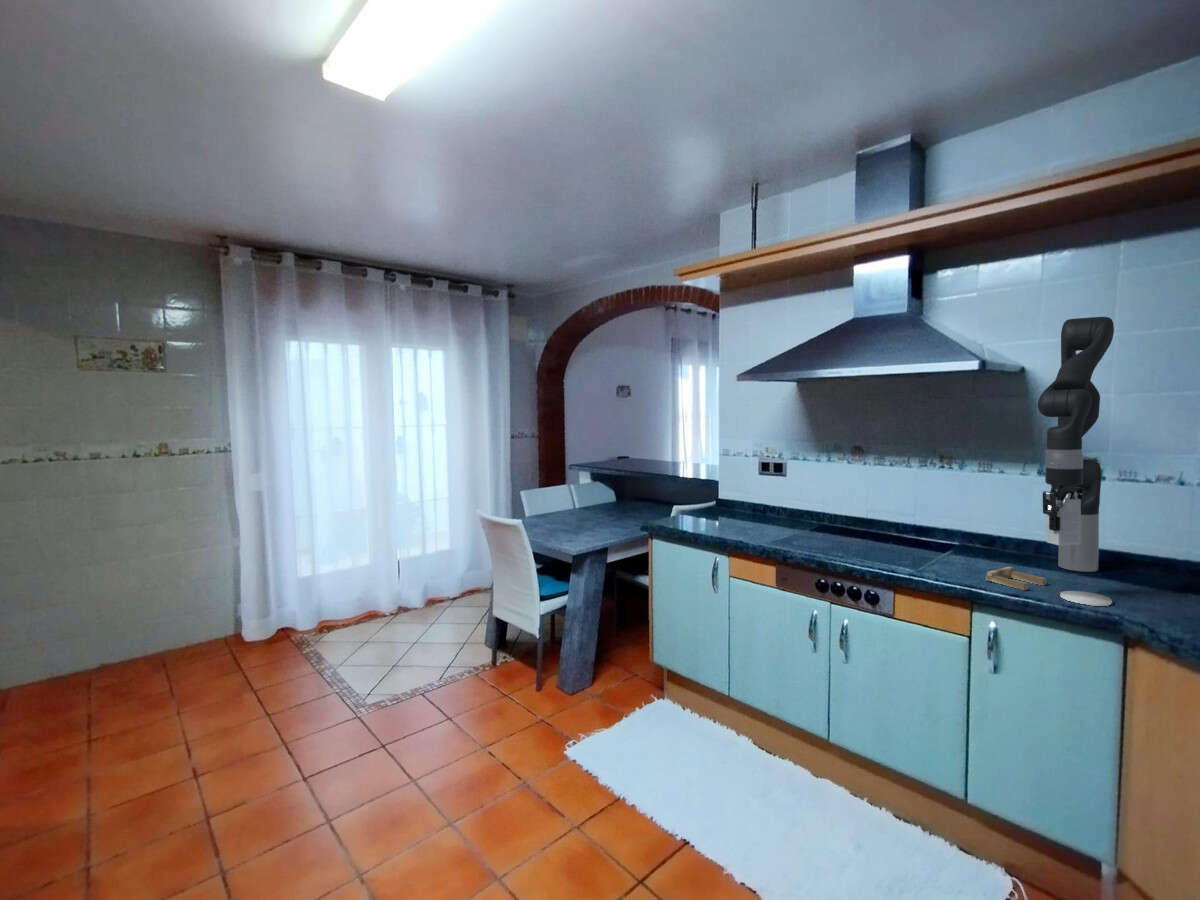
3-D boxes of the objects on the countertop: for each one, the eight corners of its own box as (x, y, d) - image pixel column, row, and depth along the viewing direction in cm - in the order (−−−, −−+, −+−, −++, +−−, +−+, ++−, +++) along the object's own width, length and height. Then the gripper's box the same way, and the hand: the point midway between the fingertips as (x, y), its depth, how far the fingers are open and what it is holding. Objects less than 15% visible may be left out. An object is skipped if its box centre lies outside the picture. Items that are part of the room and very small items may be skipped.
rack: (1007, 576, 163) (1007, 566, 163) (1046, 585, 154) (1046, 574, 153) (986, 581, 159) (985, 571, 159) (1024, 591, 150) (1024, 580, 149)
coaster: (1073, 591, 148) (1073, 588, 148) (1120, 602, 138) (1120, 599, 138) (1051, 597, 144) (1051, 594, 144) (1098, 609, 134) (1098, 606, 134)
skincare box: (1067, 541, 147) (1067, 496, 146) (1081, 544, 143) (1082, 499, 142) (1044, 542, 147) (1045, 497, 146) (1058, 545, 142) (1058, 500, 142)
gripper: (1064, 469, 137) (1063, 534, 138) (1097, 465, 143) (1096, 528, 144) (1030, 467, 144) (1030, 529, 145) (1063, 463, 149) (1063, 523, 150)
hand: (1063, 528), depth 144 cm, fingers closed on skincare box, 7 cm apart
